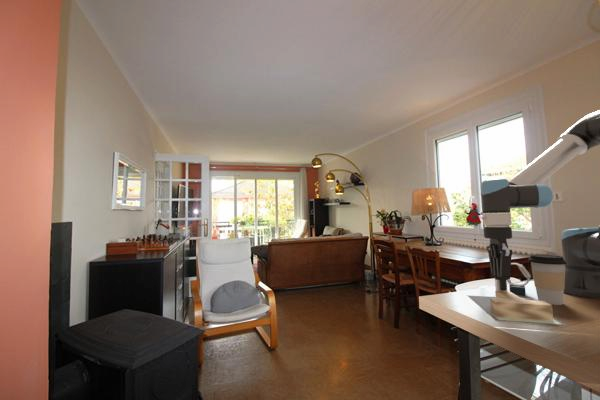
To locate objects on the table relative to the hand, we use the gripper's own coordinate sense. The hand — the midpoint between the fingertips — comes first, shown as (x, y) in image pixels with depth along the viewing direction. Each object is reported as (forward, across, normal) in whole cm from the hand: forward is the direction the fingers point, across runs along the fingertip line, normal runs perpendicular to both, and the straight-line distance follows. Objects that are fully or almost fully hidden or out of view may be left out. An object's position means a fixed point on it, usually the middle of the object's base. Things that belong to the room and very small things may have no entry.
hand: (502, 299), depth 88 cm
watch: (+2, -13, +10) cm, 17 cm away
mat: (+1, +5, 0) cm, 5 cm away
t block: (+1, +8, 0) cm, 8 cm away
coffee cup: (+2, -4, +15) cm, 16 cm away
